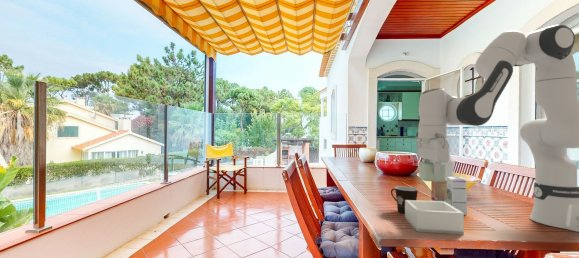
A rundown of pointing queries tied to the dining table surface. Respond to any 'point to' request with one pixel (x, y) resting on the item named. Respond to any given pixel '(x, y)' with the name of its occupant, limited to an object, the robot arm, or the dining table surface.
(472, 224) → the dining table surface
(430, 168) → the small crate
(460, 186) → the syrup box
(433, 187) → the fruit juice
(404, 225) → the dining table surface
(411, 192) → the coffee mug
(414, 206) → the box
